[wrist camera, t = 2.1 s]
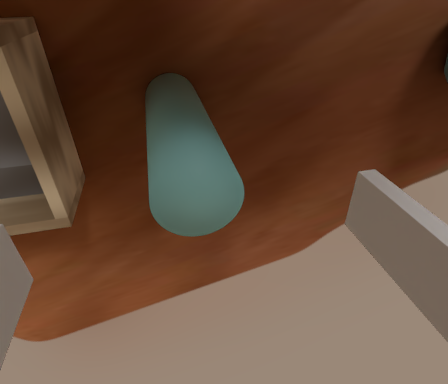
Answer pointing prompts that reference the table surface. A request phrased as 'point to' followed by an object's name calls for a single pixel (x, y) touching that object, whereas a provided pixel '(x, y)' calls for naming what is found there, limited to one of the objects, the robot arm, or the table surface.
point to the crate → (33, 137)
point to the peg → (187, 162)
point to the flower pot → (446, 69)
